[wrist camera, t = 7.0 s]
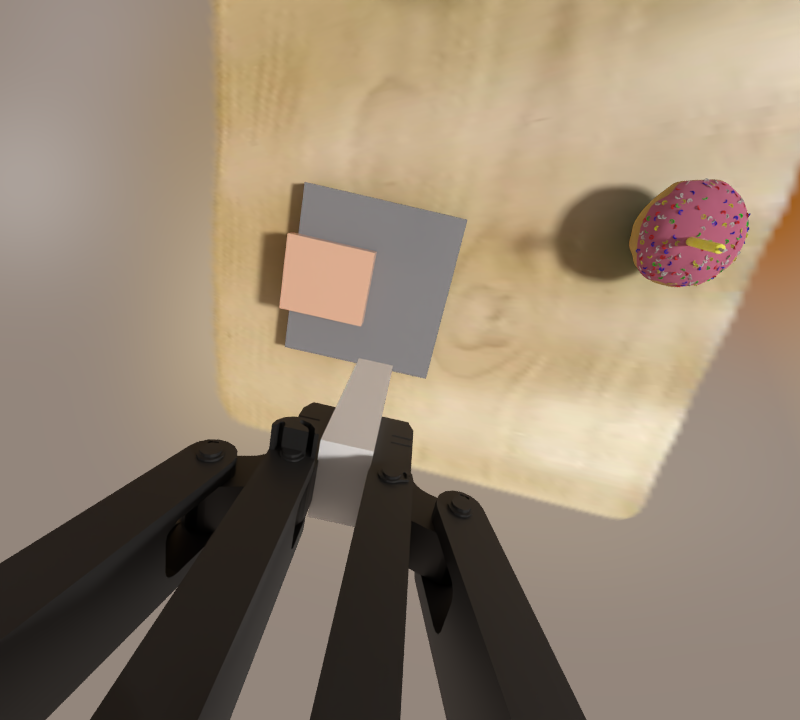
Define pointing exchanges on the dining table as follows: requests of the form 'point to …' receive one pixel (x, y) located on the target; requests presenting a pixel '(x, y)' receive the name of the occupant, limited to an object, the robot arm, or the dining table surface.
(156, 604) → the robot arm
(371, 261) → the tile
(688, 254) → the cupcake
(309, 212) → the board
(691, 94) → the dining table surface
